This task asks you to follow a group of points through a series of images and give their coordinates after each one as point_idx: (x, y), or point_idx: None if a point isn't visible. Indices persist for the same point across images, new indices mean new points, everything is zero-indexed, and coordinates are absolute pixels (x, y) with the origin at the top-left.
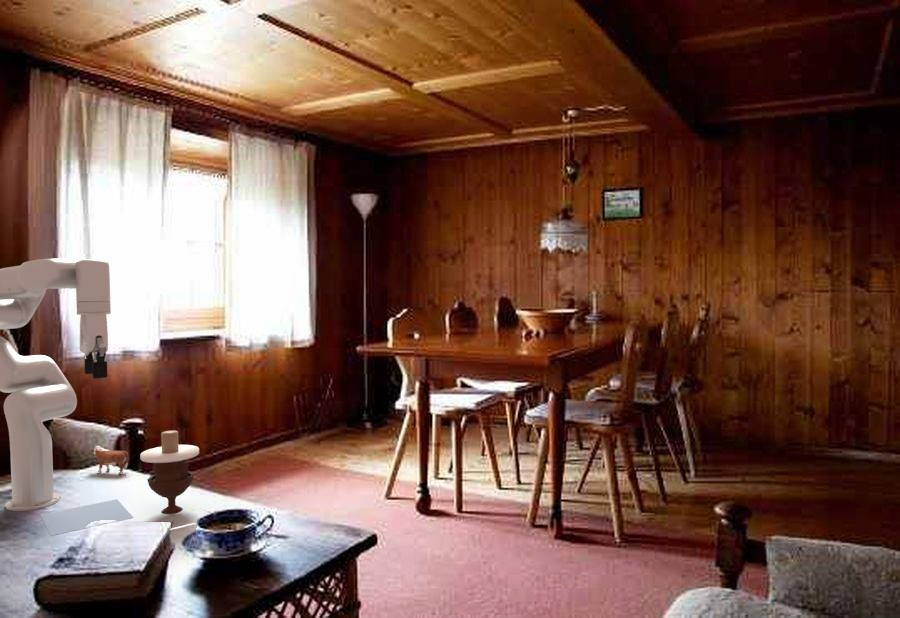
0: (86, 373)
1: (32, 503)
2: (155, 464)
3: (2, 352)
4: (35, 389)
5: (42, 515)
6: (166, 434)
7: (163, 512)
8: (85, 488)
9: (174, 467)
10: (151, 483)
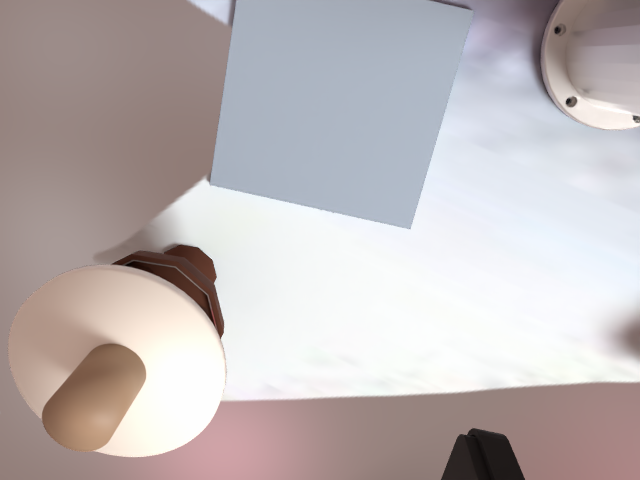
0: (462, 437)
1: (576, 21)
2: None
3: None
4: None
5: (458, 13)
6: (51, 398)
7: (180, 251)
8: (626, 224)
9: None
10: (142, 254)
